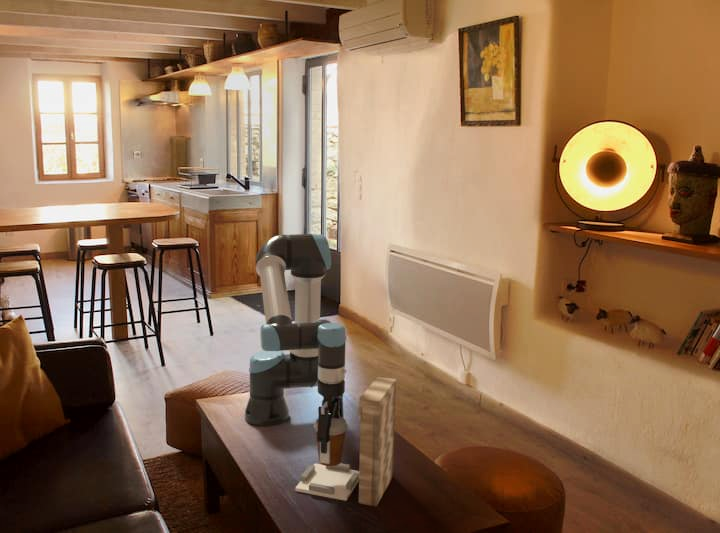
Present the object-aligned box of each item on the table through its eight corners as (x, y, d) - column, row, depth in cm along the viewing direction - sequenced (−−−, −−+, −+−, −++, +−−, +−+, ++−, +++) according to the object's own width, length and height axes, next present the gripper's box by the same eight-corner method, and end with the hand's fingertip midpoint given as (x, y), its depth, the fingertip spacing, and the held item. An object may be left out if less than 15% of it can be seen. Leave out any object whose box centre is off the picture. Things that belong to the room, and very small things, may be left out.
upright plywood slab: (374, 473, 201) (377, 376, 195) (392, 476, 200) (396, 379, 194) (356, 502, 186) (359, 398, 180) (376, 506, 184) (379, 401, 178)
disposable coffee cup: (342, 471, 189) (343, 430, 186) (309, 467, 191) (309, 426, 188) (350, 455, 198) (351, 416, 196) (318, 451, 200) (318, 413, 197)
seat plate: (315, 466, 205) (315, 458, 204) (362, 474, 200) (363, 467, 200) (295, 491, 191) (295, 482, 190) (346, 500, 186) (346, 492, 186)
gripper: (331, 394, 178) (330, 475, 183) (356, 368, 198) (354, 441, 203) (304, 390, 181) (303, 470, 185) (331, 365, 200) (330, 438, 205)
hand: (330, 455), depth 194 cm, fingers closed on disposable coffee cup, 8 cm apart
